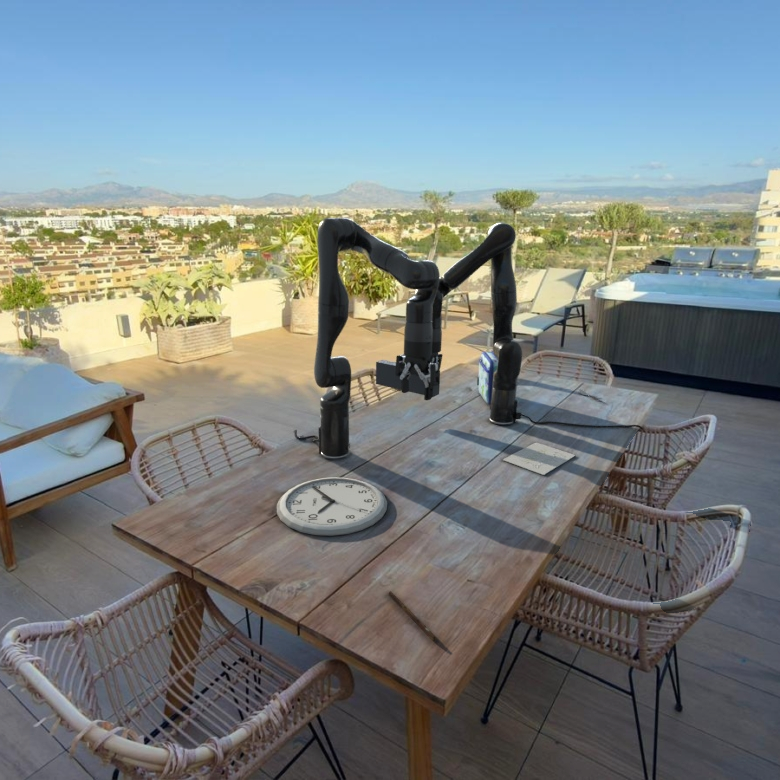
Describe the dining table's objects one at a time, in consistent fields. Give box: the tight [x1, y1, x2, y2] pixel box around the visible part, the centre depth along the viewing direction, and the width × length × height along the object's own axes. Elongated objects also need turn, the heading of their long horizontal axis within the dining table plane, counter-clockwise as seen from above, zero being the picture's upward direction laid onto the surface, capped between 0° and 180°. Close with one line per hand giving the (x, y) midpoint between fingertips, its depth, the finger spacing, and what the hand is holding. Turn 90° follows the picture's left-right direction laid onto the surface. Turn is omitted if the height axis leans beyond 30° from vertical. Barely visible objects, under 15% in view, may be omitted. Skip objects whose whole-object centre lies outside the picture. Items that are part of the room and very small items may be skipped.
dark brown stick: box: [388, 590, 436, 642], centre depth 102 cm, size 15×1×1 cm, turn 34°
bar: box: [375, 359, 441, 398], centre depth 209 cm, size 28×5×10 cm, turn 54°
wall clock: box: [276, 476, 388, 537], centre depth 142 cm, size 30×2×30 cm
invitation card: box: [502, 442, 577, 476], centre depth 174 cm, size 21×1×15 cm
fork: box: [579, 387, 603, 403], centre depth 238 cm, size 3×16×2 cm, turn 15°
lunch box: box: [476, 349, 498, 406], centre depth 230 cm, size 26×11×21 cm, turn 179°
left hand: (416, 395), depth 144 cm, fingers open, 8 cm apart
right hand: (429, 381), depth 203 cm, fingers closed on bar, 4 cm apart
